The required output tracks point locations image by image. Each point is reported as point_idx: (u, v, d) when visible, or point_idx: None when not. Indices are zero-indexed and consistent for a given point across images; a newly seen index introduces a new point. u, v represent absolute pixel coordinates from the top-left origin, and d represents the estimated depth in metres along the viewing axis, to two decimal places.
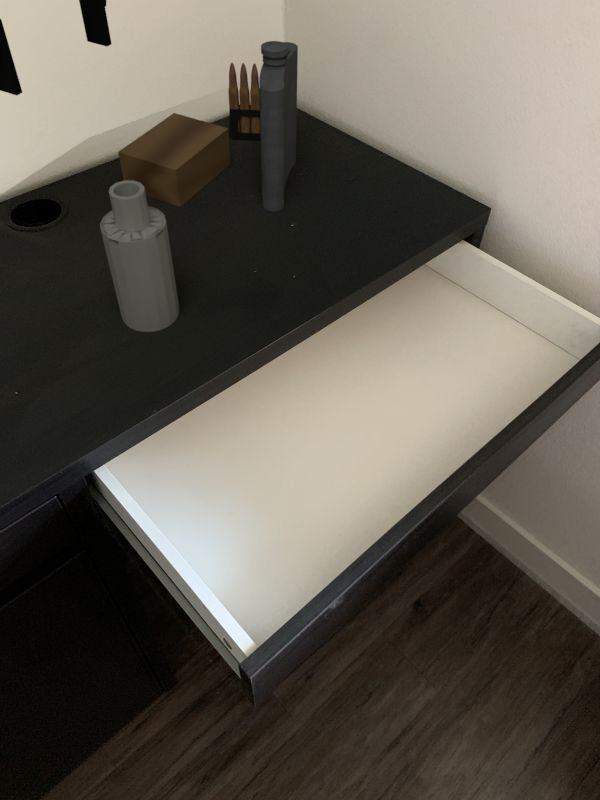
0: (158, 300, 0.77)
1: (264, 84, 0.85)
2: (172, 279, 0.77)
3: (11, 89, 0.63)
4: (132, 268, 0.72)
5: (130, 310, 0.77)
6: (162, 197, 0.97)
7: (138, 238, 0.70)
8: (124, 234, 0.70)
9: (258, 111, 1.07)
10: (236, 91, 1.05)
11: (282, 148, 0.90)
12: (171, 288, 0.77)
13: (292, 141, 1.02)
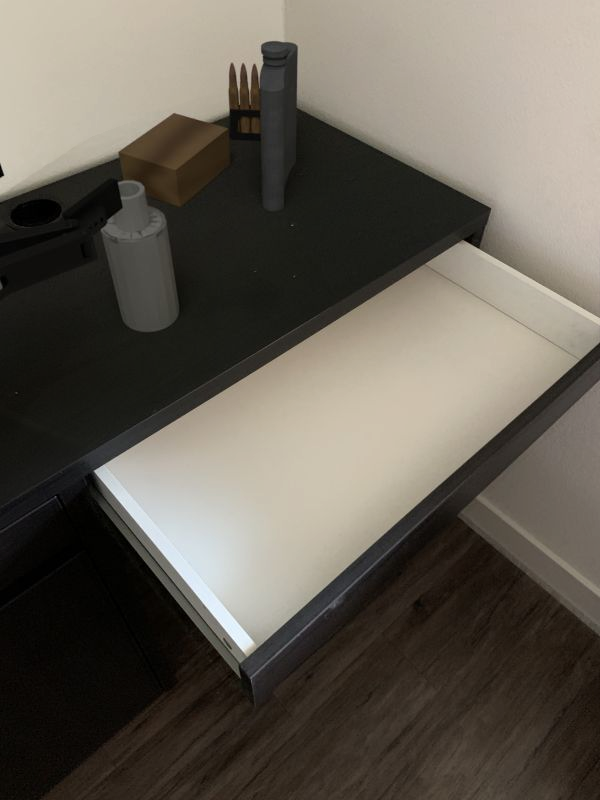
0: (158, 300, 0.77)
1: (264, 84, 0.85)
2: (172, 279, 0.77)
3: None
4: (132, 268, 0.72)
5: (130, 310, 0.77)
6: (162, 197, 0.97)
7: (138, 238, 0.70)
8: (124, 234, 0.70)
9: (258, 111, 1.07)
10: (236, 91, 1.05)
11: (282, 148, 0.90)
12: (171, 288, 0.77)
13: (292, 141, 1.02)
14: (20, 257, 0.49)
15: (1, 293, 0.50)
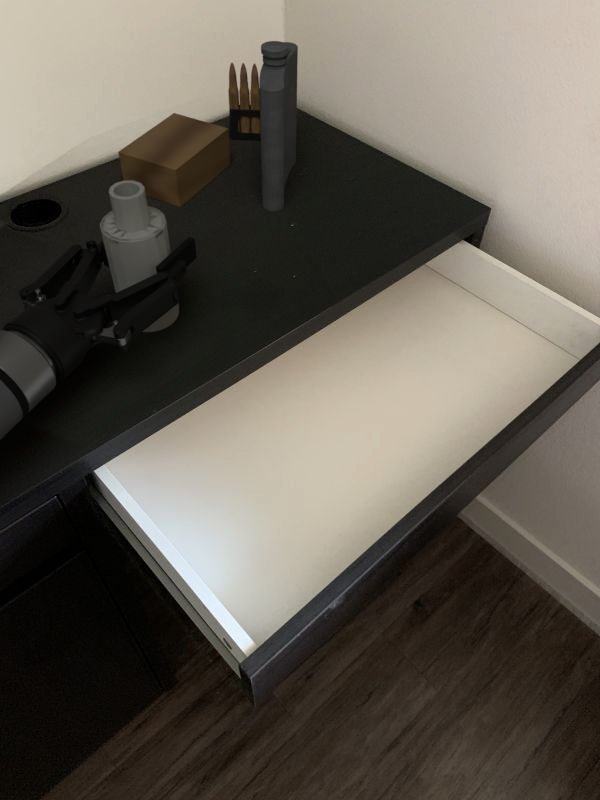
0: None
1: (264, 84, 0.85)
2: None
3: None
4: (132, 268, 0.72)
5: None
6: (162, 197, 0.97)
7: (138, 238, 0.70)
8: (124, 234, 0.70)
9: (258, 111, 1.07)
10: (236, 91, 1.05)
11: (282, 148, 0.90)
12: None
13: (292, 141, 1.02)
14: (140, 311, 0.68)
15: (131, 338, 0.68)
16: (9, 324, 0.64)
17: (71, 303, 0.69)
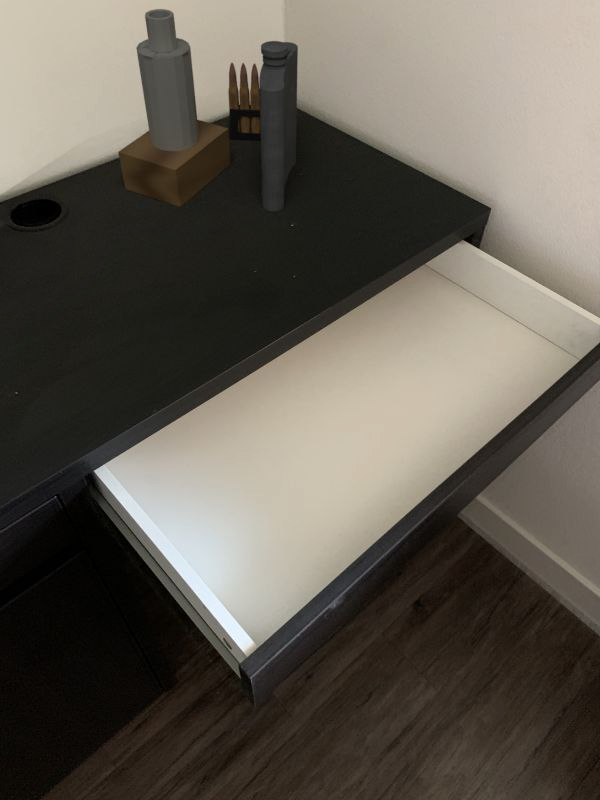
0: (182, 120, 0.93)
1: (264, 84, 0.85)
2: (194, 103, 0.94)
3: None
4: (162, 85, 0.89)
5: (159, 129, 0.94)
6: (162, 197, 0.97)
7: (168, 56, 0.86)
8: (157, 53, 0.87)
9: (258, 111, 1.07)
10: (236, 91, 1.05)
11: (282, 148, 0.90)
12: (193, 111, 0.94)
13: (292, 141, 1.02)
14: None
15: None
16: None
17: None
